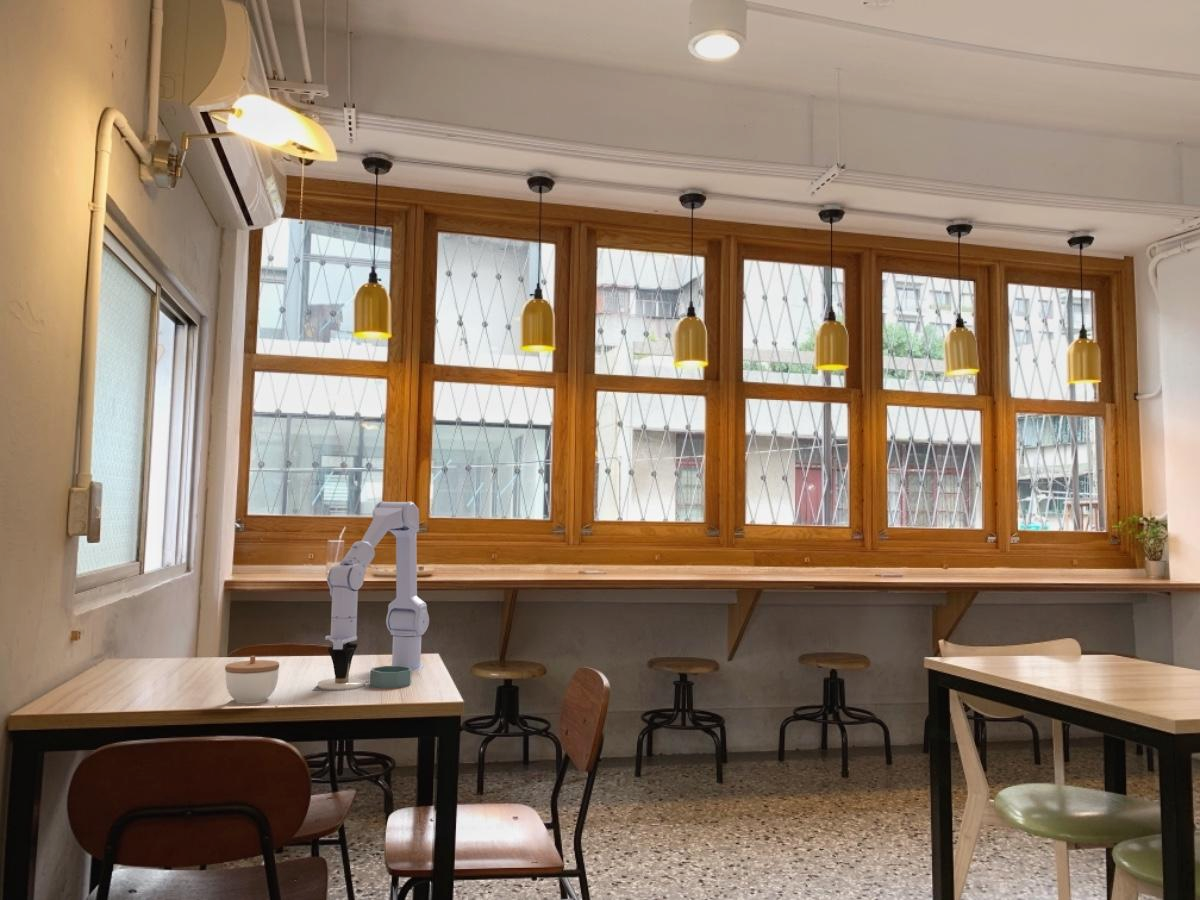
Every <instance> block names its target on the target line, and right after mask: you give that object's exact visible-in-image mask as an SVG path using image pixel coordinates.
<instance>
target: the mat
mask: <svg viewBox="0 0 1200 900" xmlns="http://www.w3.org/2000/svg"><path fill="white" fill-rule="evenodd" d="M364 681H365V684H367V683H370V680H369V681H366V680H364ZM311 691H312V692H327V691H329V692H333V691H341V690H325V689H320V688H318V684H317V685H316V686H315V687H314V688H313V689H312V690H311Z"/></svg>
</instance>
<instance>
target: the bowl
mask: <svg viewBox="0 0 1200 900" xmlns="http://www.w3.org/2000/svg"><path fill="white" fill-rule="evenodd" d="M369 674H370V675H369V676H370V677H369V687H371V688H372V687H373V688H378V689H396V688H403V687H409V686H411V684H412V681H413V678H412V677H413V670H412V668H410V667H405V666H392V665H382V666H377V667H372V668H371V669H370V673H369Z"/></svg>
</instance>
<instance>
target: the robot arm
mask: <svg viewBox="0 0 1200 900" xmlns="http://www.w3.org/2000/svg"><path fill="white" fill-rule="evenodd" d="M388 532H390V533H391V534H392V535H394V537H395V566H396V567H395V573H396V575H395V579H396V580H395V581H396V584H395V585H396V587H395V588H396V589H395V590H396V591H395V592H396V593H395V595H396V598H395V599H393V600H392V601H390V603H389V604H388V605H387V607H388V609H387V614H386V618H385V619H386V620H385V624H386V627H387V630H388V631H389V632H390V635H391V636H392V655H391V656H392V658H391V666H405V667H410V668H412V671H422V669H423V667H424V663H421V662H422V661H421V659H422V658H421V656H422V655H421V654H422V635H425V632H426V631H427V630H428V628H429V624H430V616H429V613H428V608H427V607H428V605H427V603H426V602H425V601H424V600H423V599H421V598H420V597H418V585H417V583H418V581H417V580H418V576H417V575H418V572H417V571H418V568H417V566H418V563H417V562H418V561H417V560H418V559H417V557H418V555H417V553H418V551H417V549H418V548H417V541H418V540H417V533H418V532H420V508H418V506H417V505H416V504H415V503H414V502H413V501H383V500H381V501H379V502H377V503H376V504H375V507H374V509H373V510H372V521H371V523H370V525H369V526H368V528H367V529H366V531H365V534H364V536H363V537H362V538H361V540H358V541H355V542H353V544H352V545H351V547H350V548H349V550H348V551H347V553H346V554H345V555H344V556H343V559H342V560H341V561H340V562H339V564H335V565H334V566H332V567H331V568H330V570H329V572H328V575H327V577H326V582H327V585H328V587H329V595H330V597H331V615H330V617H331V619H330V620H331V622H330V635H325V638H324V640H326V641H330V642H332V645H331V646H328V647H327V651H328V653H329V656H330V657H331V662H332V667H333V671H334V676H335V677H336V679H345V677H346V674H347V669H348V664H349V671H350V669H351V665H352V660H353V657H354V654H355V652H356V649H357V647H358V646H359V643H358V642H355V641H357V640H358V635H357V628H358V626H357V624H358V623H357V622H358V601H359V600H358V599H359V595H358V594H359V590H360V589H361V587H362V586H363V584H364V581H365V575H366V573H367V571H366V570H367V568H368V566H369V565H370V563H371V562H372V561H373V559H374V558H375V556H376V551H375V548H376V547H377V545H378V544H379V542H380V541H381V540H382V539H383V537H384V536H385V535H386V534H387V533H388ZM335 677H334V678H335Z"/></svg>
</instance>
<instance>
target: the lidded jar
mask: <svg viewBox="0 0 1200 900" xmlns="http://www.w3.org/2000/svg"><path fill="white" fill-rule="evenodd" d="M224 667H225V668H224V669H225V670H224V671H225V685H226V689H227V692H228V694H229V696H230V697H231V698H232V699H233V700H235V702H236V703H237V704H256V703H262V702H265V701H267V700H268V698H270V697H271V695H273V693H275V690H276V688H277V685H278V680H279V673H280V672H279V671H280V669H279V668H280V662H278V661H276V660H270V659H269V660H266V659H265V660H264V659H261V660H260V659H257V660H256V655H251V656H249V660H242V661H241V660H240V661H233V662H231V663H227V664H226V665H225V666H224Z"/></svg>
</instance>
